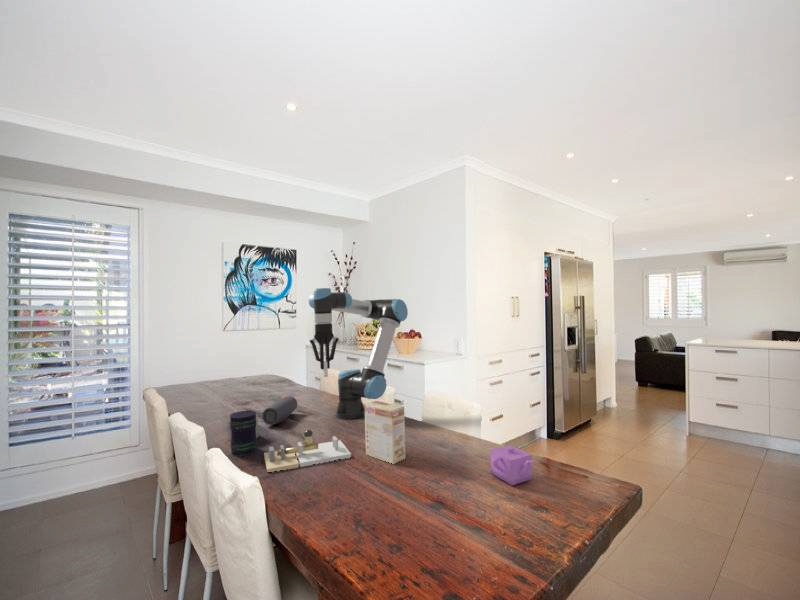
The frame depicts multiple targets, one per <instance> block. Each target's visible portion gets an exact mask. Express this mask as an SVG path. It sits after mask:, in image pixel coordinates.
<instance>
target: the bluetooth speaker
mask: <svg viewBox="0 0 800 600" xmlns="http://www.w3.org/2000/svg"><path fill="white" fill-rule="evenodd" d="M297 407H298V402H297V399H296V398H295V397H294V396H291V395H289V396H285V397H282V398H281V399H279V400H277V401H275V402H274V403H272V404H270V405H269V406H268V407H266V408H265V409H264V410H263V412H262V415H261V417H262V421H263V422H264V423H265V425H269V426H273V425H276V424H280V422H281V421H282V422H284V421H285V420H287V419H288V417H289V416H290V415H291V414H292V413H293V412H294V411H295V410H296V409H297ZM284 419H285V420H284ZM283 420H284V421H283ZM282 422H281V423H282Z"/></svg>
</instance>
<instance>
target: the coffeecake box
mask: <svg viewBox="0 0 800 600" xmlns="http://www.w3.org/2000/svg"><path fill="white" fill-rule="evenodd" d="M364 408H365V415H364V434H365V436H364V437H365V455H366V456H368V457H369V456H370V457H372V458H375V459H378V460H381V461H383V462H385V461H386V463H388V462H389V463H388V464H391V463H392V464H391V465H396V464H397V463H399V461H400V462H401V460H402V461H404V460H406V459H405V458H406V431H405V430H406V428H405V406H403V405H398V404H397V405H396V404H393V403H389V402H383V401H379V400H375V401H372V402H369V403H365V404H364ZM403 459H404V460H403Z"/></svg>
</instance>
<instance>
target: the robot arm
mask: <svg viewBox="0 0 800 600" xmlns="http://www.w3.org/2000/svg"><path fill="white" fill-rule="evenodd" d="M308 304H309V307H311V309H313V310H314V323H315V324H314V335H313V338H312V339H309V340H308V341H309V342H308V343H310V344H311V347H312V350H313V355H314V358H315V360H316V361H317V362H319V363H320V364H319V365H320V370H322V376H323V377H324V378H328V372H329V371H328V370H329V369H330V367H331V366H330V365H331V364H330V362H331V361H333V360H334V359H335V358H334V357H335V354H336V348H337V344H338V342H339V339H340V338H339V337H336V336H334V333H333V323H332V322H333V313H332V311H334V312H339V313H347V314H353V315H360V316H361V317H363V318H368V319H371V320H375V321H379V323H380V324H379V327H378V330H377V333H376V336H375V340H374V342H373V346H372V349H371V352H370V355H369V358H368V362H367V365H366V366H365V367H363V368H362V371H361V369H359V368H357V369H356V368H355V369H348V370H342V371H340V372H339V373H338V374H337V375H338V376H337V377H338V379H337V384H338V385H337V386H338V387H337V388H338V391H337V392H338V403H337V407H336V410H335V417H336V418H338V419H343V420H351V419H352V420H353V419H358V418H361V417H363V416H364V417H365V404H364V403H363V400H362V398H364V399H368V400H377V399H379V398H381V397H382V396H383V395H384V394H385V392H386V390H387V386H388V385H387V379H386V378H385V375H386V374H385V372H384V369H385V365H386V362H387V359H388V356H389V352H390V349H391V345H392V342H393V339H394V336H395V333H396V329H397V328H400V326H401V323H402V322H404V321H405V320H406V319H407V318H408V314H409V313H408V311H409V310H408V307H407V304H406V302H405V301H404V300H403V299H398V298H392V299H391V298H390V299H389V298H388V299H387V298H386V299H370V300H369V299H364V300H360V299H354V298H353V297H352V295H351V293H349V292H347V291H345V292H344V291H342V292H341V291H340V292H332V290H331V288H329V287H326V288H325V287H321V288H320V287H319V288H315V289H314V290H313V294H311V295H310V296H309V298H308ZM331 341H332V342H331ZM316 342H317V343H318V346H319V352H318V348H317V345H316ZM330 343H332V344H331V349H330ZM324 348H325V352H324Z"/></svg>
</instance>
